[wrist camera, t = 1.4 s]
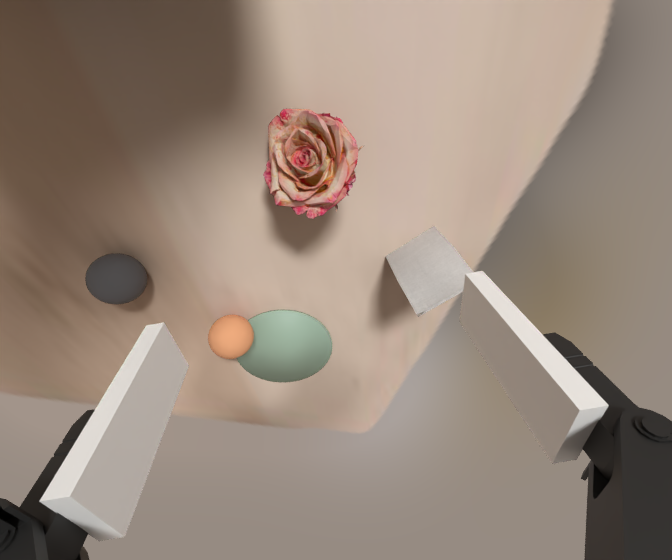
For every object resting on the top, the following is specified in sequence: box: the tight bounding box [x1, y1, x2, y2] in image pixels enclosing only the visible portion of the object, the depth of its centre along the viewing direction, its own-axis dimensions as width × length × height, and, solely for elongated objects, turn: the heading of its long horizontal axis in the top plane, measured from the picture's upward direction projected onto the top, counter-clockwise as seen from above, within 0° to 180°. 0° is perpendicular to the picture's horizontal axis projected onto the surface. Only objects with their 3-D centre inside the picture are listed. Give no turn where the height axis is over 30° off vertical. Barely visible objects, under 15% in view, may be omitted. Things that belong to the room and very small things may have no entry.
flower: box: [264, 109, 363, 218], centre depth 29 cm, size 10×9×8 cm
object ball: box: [208, 315, 254, 359], centre depth 40 cm, size 6×6×6 cm
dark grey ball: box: [86, 254, 147, 304], centre depth 34 cm, size 6×6×6 cm
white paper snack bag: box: [386, 226, 473, 317], centre depth 35 cm, size 4×7×10 cm, turn 125°
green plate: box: [237, 310, 332, 382], centre depth 45 cm, size 14×14×1 cm
